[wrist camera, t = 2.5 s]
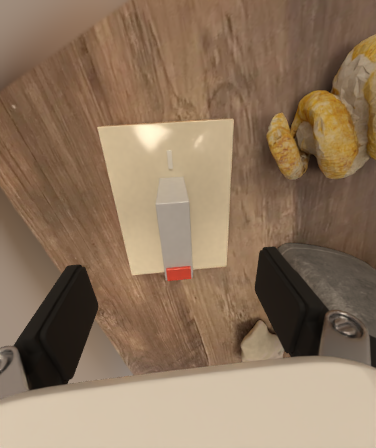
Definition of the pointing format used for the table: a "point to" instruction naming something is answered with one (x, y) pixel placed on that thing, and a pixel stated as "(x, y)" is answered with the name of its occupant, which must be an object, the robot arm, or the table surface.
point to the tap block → (165, 168)
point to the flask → (336, 279)
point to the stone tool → (260, 344)
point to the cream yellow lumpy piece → (332, 122)
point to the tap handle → (174, 228)
